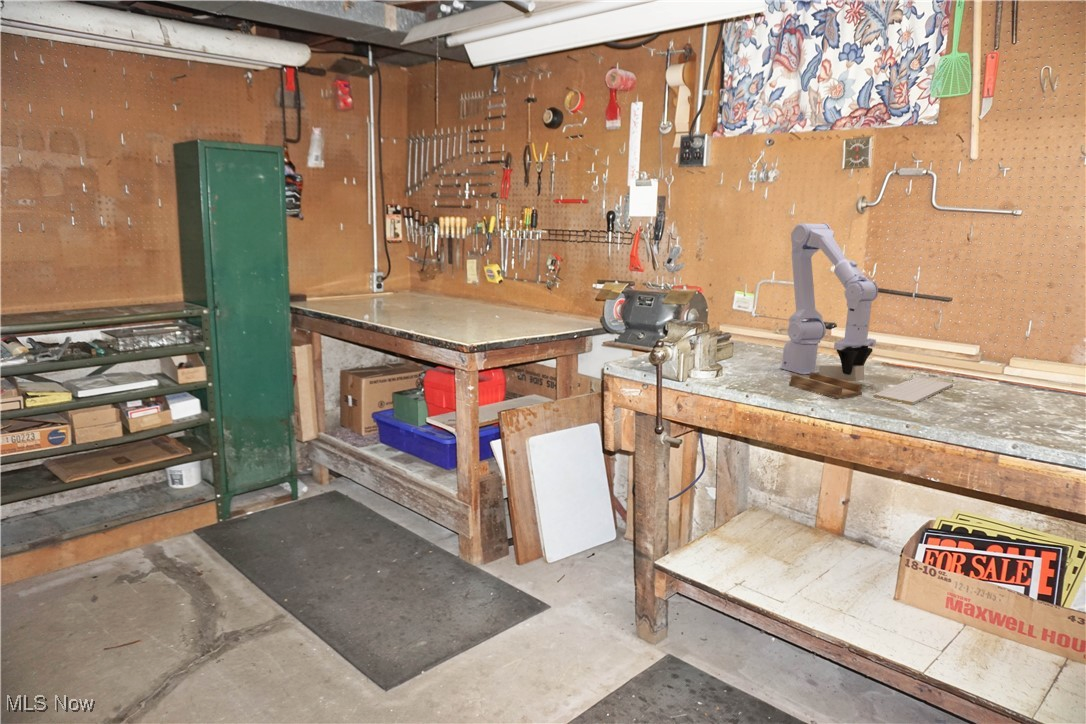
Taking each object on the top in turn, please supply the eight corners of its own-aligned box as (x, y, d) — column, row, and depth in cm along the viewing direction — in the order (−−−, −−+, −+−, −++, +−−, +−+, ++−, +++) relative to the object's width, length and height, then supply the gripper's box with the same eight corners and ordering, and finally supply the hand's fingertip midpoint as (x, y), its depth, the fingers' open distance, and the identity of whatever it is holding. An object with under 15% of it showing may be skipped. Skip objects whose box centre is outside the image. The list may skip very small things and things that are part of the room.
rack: (788, 385, 191) (790, 374, 190) (812, 381, 195) (813, 371, 195) (837, 399, 177) (838, 388, 177) (861, 395, 182) (862, 384, 181)
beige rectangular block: (819, 379, 199) (819, 365, 198) (828, 378, 200) (827, 364, 200) (855, 381, 188) (855, 366, 188) (864, 379, 190) (863, 365, 190)
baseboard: (863, 397, 182) (912, 407, 173) (865, 387, 181) (913, 396, 173) (907, 380, 203) (952, 388, 194) (908, 370, 202) (954, 378, 193)
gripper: (852, 328, 181) (846, 378, 184) (887, 325, 188) (881, 373, 191) (829, 324, 187) (824, 373, 190) (865, 321, 194) (859, 368, 197)
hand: (851, 373), depth 191 cm, fingers closed on beige rectangular block, 4 cm apart
